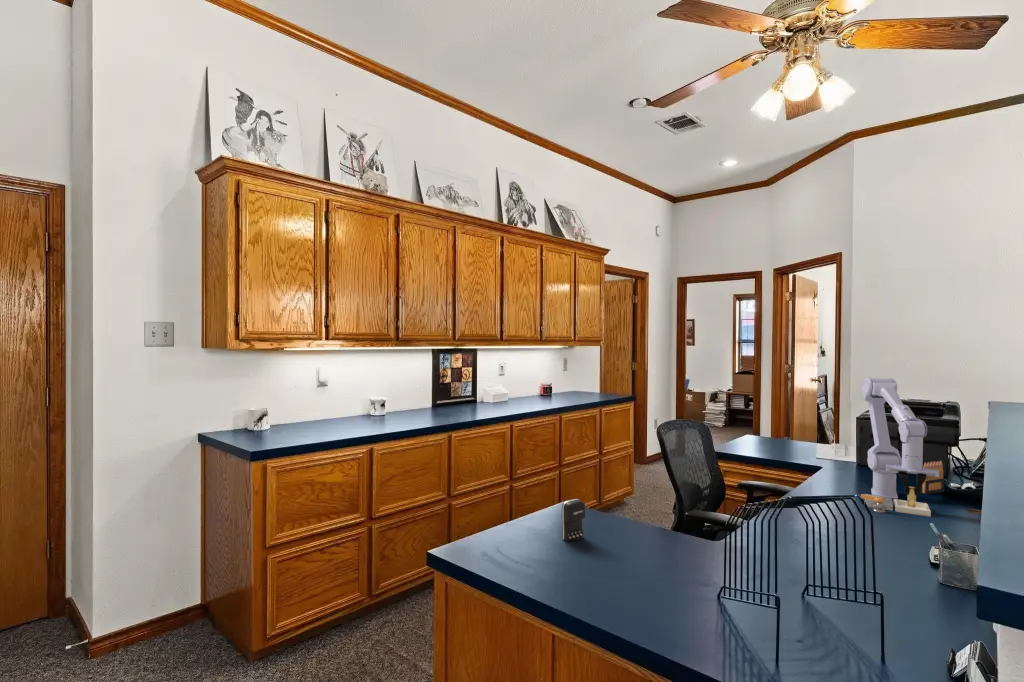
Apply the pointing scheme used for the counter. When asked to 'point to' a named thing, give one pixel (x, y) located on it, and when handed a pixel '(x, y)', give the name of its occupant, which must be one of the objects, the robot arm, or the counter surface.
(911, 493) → the pin
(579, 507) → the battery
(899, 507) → the tray
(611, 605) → the counter surface
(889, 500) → the hitch block
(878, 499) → the keeper
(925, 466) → the ammunition clip
